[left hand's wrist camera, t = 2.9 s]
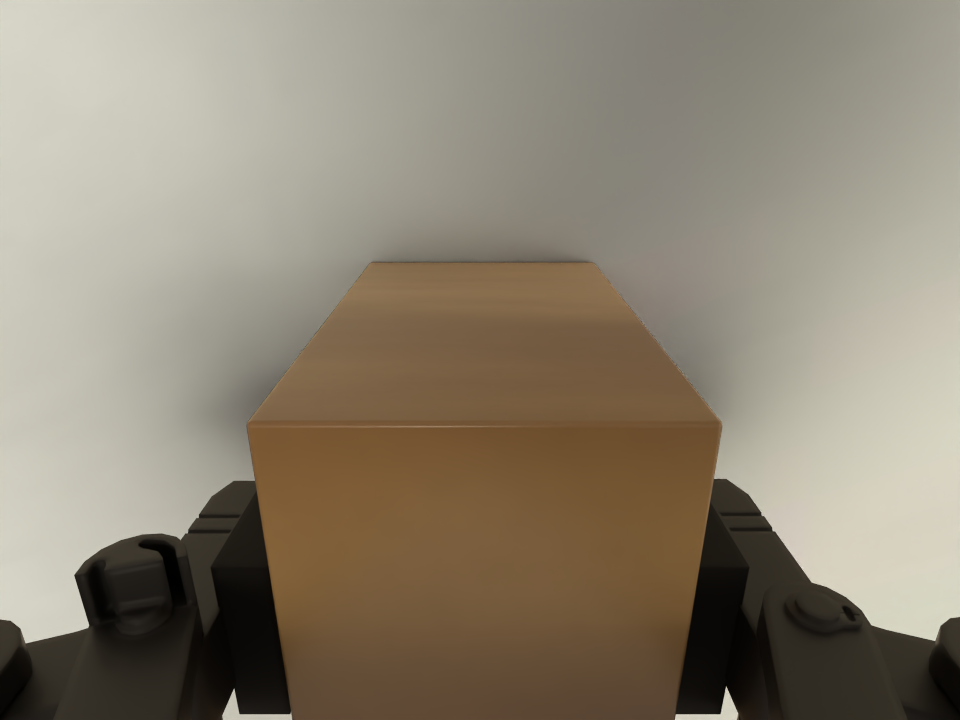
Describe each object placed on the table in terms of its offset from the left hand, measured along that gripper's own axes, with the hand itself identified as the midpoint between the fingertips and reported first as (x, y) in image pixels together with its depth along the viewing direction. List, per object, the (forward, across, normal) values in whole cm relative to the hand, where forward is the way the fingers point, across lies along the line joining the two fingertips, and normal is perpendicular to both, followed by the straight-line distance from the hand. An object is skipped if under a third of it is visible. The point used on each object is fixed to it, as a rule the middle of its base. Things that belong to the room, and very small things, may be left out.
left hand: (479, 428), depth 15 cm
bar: (+1, 0, -9) cm, 9 cm away
